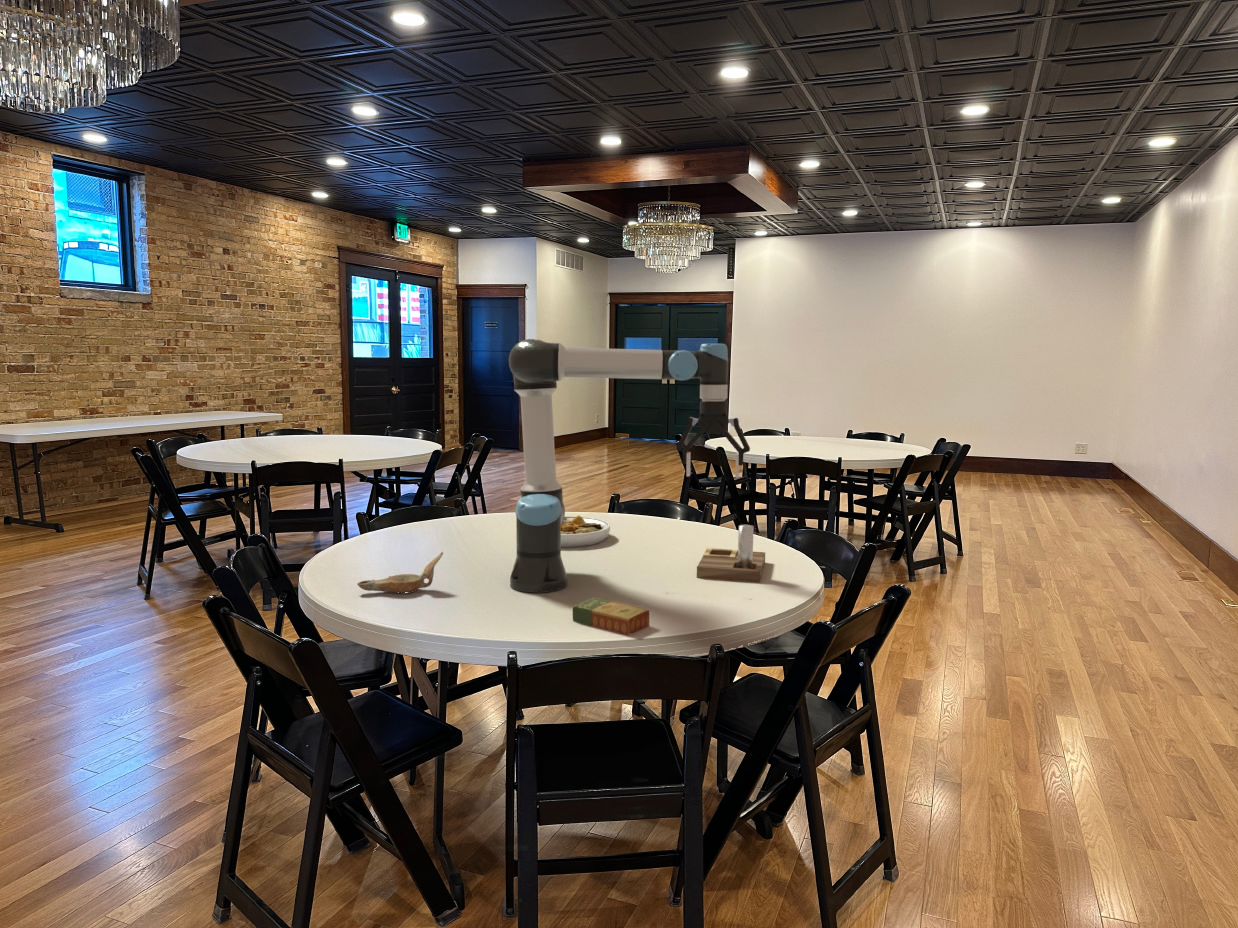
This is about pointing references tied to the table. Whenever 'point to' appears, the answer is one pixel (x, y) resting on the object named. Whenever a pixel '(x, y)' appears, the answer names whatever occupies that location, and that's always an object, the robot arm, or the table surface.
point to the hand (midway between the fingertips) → (712, 476)
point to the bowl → (583, 531)
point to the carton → (611, 616)
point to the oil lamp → (402, 580)
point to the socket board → (729, 566)
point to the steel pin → (745, 546)
